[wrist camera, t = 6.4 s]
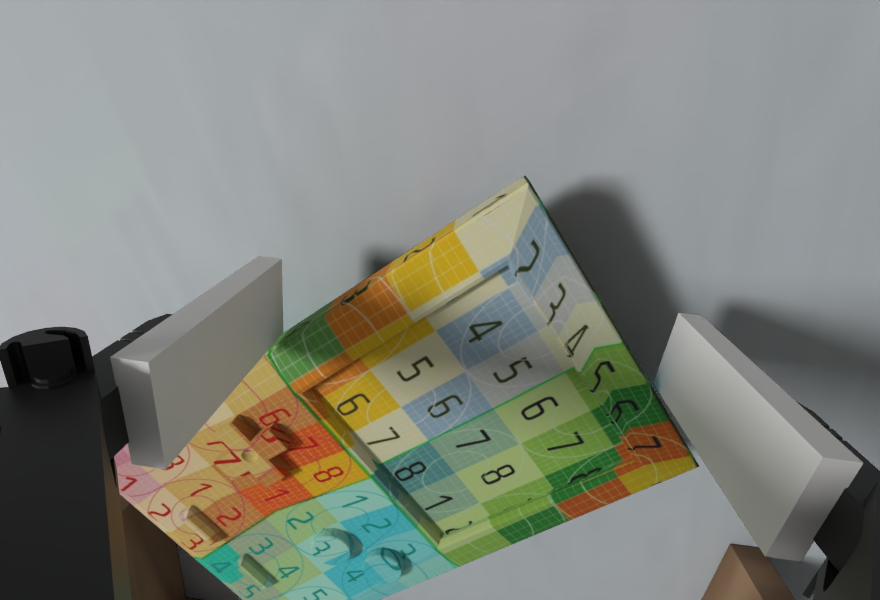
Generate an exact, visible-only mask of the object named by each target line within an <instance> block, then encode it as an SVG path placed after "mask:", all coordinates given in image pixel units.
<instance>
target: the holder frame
mask: <svg viewBox="0 0 880 600" xmlns="http://www.w3.org/2000/svg"><path fill="white" fill-rule="evenodd" d="M120 502H121V510H122V519H123V527H124V536H125V545H126V553H127V562H128V571H129V579H130V588H131V597H132V600H197V599H190V598H186V597H185V592H184V586H183V580H182V575H181V569H180V563H179V558H178V552H177V546H176V542H174V541H173V540H172V539H171V538H170V537H169V536H167V535H166V534H165V533H164V532H163V531H162V530H160V529H159V528H158V527H157V526H156V525H155V524H153V523H152V522H151V521H150V520H149V519H148V518H146V517H145V516H144V515H143V514H142V513H141V512H140V511H138V510H137V509H136V508H135V507H134V506H133V505H131V504H130V503H129V502H128V501H127V500H126V499H124V498H123V497H122V496H121V495H120ZM702 600H795V599H794V597H793V595H792V594H791V592H790V591H789V589H788V588H787V586H786V585H785V583H784V582H783V580H782V579H781V577H780V576H779V574H778V573H777V571H776V570H775V568H774V567H773V565H772V563H771V562H770V560H769V559H768V557H765V556H764V554H763V553H762V551H761V550H760V548H755V547H747V546H740V545H733V544H730V546H729V548H728V549H727V551H726V553H725V555H724V557H723V559H722V561H721V563H720V565H719V567H718V569H717V571H716V573H715V575H714V577H713V579H712V581H711V583H710V585H709V587H708V589H707V591H706V593H705V595H704V596H703V598H702Z"/></svg>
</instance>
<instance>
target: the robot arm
mask: <svg viewBox="0 0 880 600" xmlns="http://www.w3.org/2000/svg"><path fill="white" fill-rule="evenodd" d="M282 333H283V298H282V259H278V258H270V257H263V256H258V257H257V258H255V259H254V260H252V261H251V262H249V263H248V264H246V265H245V266H243V267H242V268H240V269H239V270H237V271H236V272H235V273H233V274H232V275H230V276H229V277H227V278H226V279H224V280H223V281H221V282H220V283H218V284H217V285H215V286H214V287H212V288H211V289H210V290H208V291H207V292H205V293H204V294H202V295H201V296H199V297H198V298H196V299H195V300H193V301H192V302H190V303H189V304H187V305H186V306H185V307H183V308H182V309H180V310H179V311H177V312H176V313H174V314H166V315H163V316H160V317H157V318H154V319H152V320H149V321H147V322H145V323H144V324H142V325H140V326H139V327H137V328H136V329H134V330H133V332H132V333H131V332H130V333H128V334H127V335H125V336H123V337H122V338H121V340H120V341H118V340H117V341H116V342H114V343H113V344H111V345H110V346H108V347H106V348H105V349H103V350H102V351H100V352H99V353H97V354H96V355H94V356H93V357H92V354H91V349H90V345H89V340H88V336H87V334H86V333H85V332H84V331H83V330H80V329H77V328H71V327H52V328H43V329H38V330H33V331H29V332H26V333H23V334H20V335H17V336H14V337H12V338H11V339H9V340H7V341H5V342H4V343H2V344H1V346H0V361H1V364H2V368H3V371H4V374H5V377H6V380H7V384H8V387H4V388H0V600H132V597H131V588H130V579H129V571H128V562H127V553H126V545H125V536H124V527H123V519H122V510H121V502H120V493H119V484H118V476H117V468H116V463H115V459H114V456H115V455H116V454H117V453H118V452H119V451H120V450H121V449H122V448H123V447H124V446H125V445H126V444H128V448H129V453H130V458H131V463H132V465H139V466H146V467H153V468H160V469H167V467H168V466H169V465H170V464H171V463H172V462H173V460H174V459H175V458H176V457H177V456H178V455H179V453H180V452H181V451H182V450H183V449H184V448H185V446H186V445H187V444H188V443H189V442H190V441H191V439H192V438H193V437H194V436H195V435H196V434H197V432H198V431H199V430H200V429H201V428H202V427H203V425H204V424H205V423H206V422H207V421H208V420H209V418H210V417H211V416H212V415H213V414H214V413H215V411H216V410H217V409H218V408H219V407H220V406H221V404H222V403H223V402H224V401H225V400H226V399H227V397H228V396H229V395H230V394H231V393H232V392H233V390H234V389H235V388H236V387H237V386H238V385H239V383H240V382H241V381H242V380H243V379H244V378H245V376H246V375H247V374H248V373H249V372H250V371H251V369H252V368H253V367H254V366H255V365H256V364H257V362H258V361H259V360H260V359H261V358H262V357H263V355H264V354H265V353H266V352H267V351H268V350H269V349H270V347H271V346H272V345H273V344H274V343H275V342H276V340H277V339H278V338H279V337H280V336H281V335H282ZM653 384H654V386H655V388H656V389H657V391H658V392H659V394H660V395H661V397H662V398H663V400H664V401H665V403H666V405H667V406H668V408H669V409H670V411H671V412H672V414H673V415H674V417H675V418H676V420H677V422H678V423H679V425H680V426H681V428H682V429H683V431H684V432H685V434H686V435H687V437H688V439H689V440H690V442H691V443H692V445H693V446H694V448H695V449H696V451H697V452H698V454H699V456H700V457H701V459H702V460H703V462H704V463H705V465H706V466H707V468H708V469H709V471H710V473H711V474H712V476H713V477H714V479H715V480H716V482H717V483H718V485H719V486H720V488H721V489H722V491H723V493H724V494H725V496H726V497H727V499H728V500H729V502H730V503H731V505H732V506H733V508H734V510H735V511H736V513H737V514H738V516H739V517H740V519H741V520H742V522H743V523H744V525H745V527H746V528H747V530H748V531H749V533H750V534H751V536H752V537H753V539H754V540H755V542H756V544H757V545H758V547H759V548H760V550H761V551H762V553H763V554H764V556H765V557H771V558H778V559H785V560H792V561H799V562H801V561H802V559H803V558H804V556H805V554H806V553H807V551H808V550H809V548H810V547H811V545H812V543H813V542H814V541H815V542H816V544H817V545H818V546H819V548H820V549H821V550H822V551H823V553H824V554H825V555H826V556H827V558H826V560H825V561H824V563H823V564H822V566H821V567H820V569H819V570H818V572H817V573H816V575H815V576H814V578H813V579H812V581H811V582H810V584H809V585H808V587H807V588H806V590H805V591H804V593H803V594H802V595H804V596H806V597H807V598H810V596H811V595H812V594H813V593H814V596H813V600H880V471H879V470H878V469H877V468H876V467H875V466H873V465H872V464H871V463H870V462H869V461H868V460H867V459H866V458H864V457H863V456H862V455H861V454H860V453H859V452H858V451H857V450H856V449H854V448H853V447H852V446H851V445H850V444H849V443H848V442H847V441H843V440H842V437H841V436H840V435H839V434H838V433H837V432H835V431H834V430H833V429H830V428H829V425H828V424H826V423H825V422H824V421H823V420H822V419H821V418H820V417H819V416H818V415H816V414H815V413H814V412H813V411H811V410H810V409H808V408H806V407H805V406H803V405H801V404H800V403H798V402H797V401H795V400H794V399H793V398H792V397H791V396H789V395H788V394H787V393H786V392H785V391H784V390H783V389H782V388H781V387H780V386H778V385H777V384H776V383H775V382H774V381H773V380H772V379H771V378H770V377H769V376H768V375H766V374H765V373H764V372H763V371H762V370H761V369H760V368H759V367H758V366H757V365H755V364H754V363H753V362H752V361H751V360H750V359H749V358H748V357H747V356H746V355H744V354H743V353H742V352H741V351H740V350H739V349H738V348H737V347H736V346H735V345H734V344H732V343H731V342H730V341H729V340H728V339H727V338H726V337H725V336H724V335H723V334H721V333H720V332H719V331H718V330H717V329H716V328H715V327H714V326H713V325H712V324H710V323H709V322H708V321H707V320H706V319H705V318H704V317H703V316H699V315H692V314H684V313H678V316H677V318H676V321H675V324H674V327H673V329H672V332H671V335H670V338H669V341H668V343H667V346H666V349H665V352H664V354H663V357H662V360H661V363H660V365H659V368H658V371H657V374H656V376H655V379H654V382H653Z"/></svg>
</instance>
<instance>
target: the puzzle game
mask: <svg viewBox="0 0 880 600" xmlns="http://www.w3.org/2000/svg"><path fill="white" fill-rule="evenodd" d="M114 459H115V463H116V468H117V476H118V484H119V493H120V495H121V496H122V497H123V498H124V499H126V500H127V501H128V502H129V503H130V504H131V505H133V506H134V507H135V508H136V509H137V510H138V511H140V512H141V513H142V514H143V515H144V516H145V517H146V518H148V519H149V520H150V521H151V522H152V523H153V524H155V525H156V526H157V527H158V528H159V529H160V530H162V531H163V532H164V533H165V534H166V535H167V536H169V537H170V538H171V539H172V540H173V541H174V542H176V543H177V544H178V545H179V546H180V547H181V548H183V549H184V550H185V551H186V552H187V553H188V554H190V555H191V556H192V557H193V558H194V559H195V560H196V561H198V562H199V563H200V564H201V565H202V566H203V567H205V568H206V569H207V570H208V571H209V572H210V573H212V574H213V575H214V576H215V577H216V578H217V579H219V580H220V581H221V582H222V583H223V584H224V585H226V586H227V587H228V588H229V589H230V590H231V591H233V592H234V593H235V594H236V595H237V596H238V597H239V598H241V599H242V600H380V599H382V598H385V597H387V596H389V595H392V594H394V593H397V592H399V591H401V590H404V589H406V588H409V587H411V586H413V585H416V584H418V583H421V582H423V581H425V580H428V579H430V578H433V577H435V576H437V575H440V574H442V573H445V572H447V571H449V570H452V569H454V568H457V567H459V566H461V565H464V564H466V563H469V562H471V561H473V560H476V559H478V558H481V557H483V556H485V555H488V554H490V553H493V552H495V551H497V550H500V549H502V548H505V547H507V546H509V545H512V544H514V543H516V542H519V541H521V540H524V539H526V538H528V537H531V536H533V535H536V534H538V533H540V532H543V531H545V530H548V529H550V528H552V527H555V526H557V525H560V524H562V523H564V522H567V521H569V520H572V519H574V518H576V517H579V516H581V515H584V514H586V513H588V512H591V511H593V510H596V509H598V508H600V507H603V506H605V505H608V504H610V503H612V502H615V501H617V500H620V499H622V498H624V497H627V496H629V495H632V494H634V493H636V492H639V491H641V490H644V489H646V488H648V487H651V486H653V485H656V484H658V483H660V482H663V481H665V480H668V479H670V478H672V477H675V476H677V475H680V474H682V473H684V472H687V471H689V470H692V469H694V468H696V467H698V466H699V465H698V463H697V462H696V460H695V458H694V457H693V455H692V453H691V452H690V450H689V448H688V446H687V445H686V443H685V441H684V440H683V438H682V436H681V435H680V433H679V431H678V430H677V428H676V426H675V425H674V423H673V421H672V420H671V418H670V416H669V415H668V413H667V411H666V410H665V408H664V406H663V404H662V403H661V401H660V399H659V398H658V396H657V394H656V393H655V391H654V389H653V388H652V386H651V384H650V383H649V381H648V379H647V378H646V376H645V374H644V373H643V371H642V369H641V368H640V366H639V364H638V362H637V361H636V359H635V357H634V356H633V354H632V352H631V351H630V349H629V347H628V346H627V344H626V342H625V341H624V339H623V337H622V336H621V334H620V332H619V331H618V329H617V327H616V326H615V324H614V322H613V321H612V319H611V317H610V315H609V314H608V312H607V310H606V309H605V307H604V305H603V304H602V302H601V300H600V299H599V297H598V295H597V294H596V292H595V290H594V289H593V287H592V285H591V284H590V282H589V280H588V279H587V277H586V275H585V273H584V272H583V270H582V268H581V267H580V265H579V263H578V262H577V260H576V258H575V257H574V255H573V253H572V252H571V250H570V248H569V247H568V245H567V243H566V242H565V240H564V238H563V237H562V235H561V233H560V231H559V230H558V228H557V226H556V225H555V223H554V221H553V220H552V218H551V216H550V215H549V213H548V211H547V210H546V208H545V206H544V205H543V203H542V201H541V200H540V198H539V196H538V195H537V193H536V191H535V189H534V188H533V186H532V184H531V183H530V181H529V180H528V178H527V177H526V176H524V177H522V178H521V179H519V180H517V181H515V182H514V183H512V184H510V185H509V186H507V187H505V188H504V189H502V190H501V191H499V192H498V193H496V194H495V195H493V196H492V197H490V198H489V199H487V200H486V201H484V202H483V203H481V204H479V205H478V206H476V207H475V208H473V209H472V210H470V211H469V212H467V213H466V214H464V215H463V216H461V217H460V218H458V219H457V220H455V221H454V222H452V223H451V224H449V225H447V226H446V227H444V228H443V229H441V230H440V231H438V232H437V233H435V234H434V235H432V236H431V237H429V238H428V239H426V240H425V241H423V242H422V243H420V244H418V245H417V246H415V247H414V248H412V249H411V250H409V251H408V252H406V253H405V254H403V255H402V256H400V257H399V258H397V259H396V260H394V261H393V262H391V263H389V264H388V265H386V266H385V267H383V268H382V269H380V270H379V271H377V272H376V273H374V274H373V275H371V276H370V277H368V278H367V279H365V280H364V281H362V282H360V283H359V284H357V285H356V286H354V287H353V288H351V289H350V290H348V291H347V292H345V293H344V294H342V295H341V296H339V297H338V298H336V299H335V300H333V301H332V302H330V303H328V304H327V305H325V306H324V307H322V308H321V309H319V310H318V311H316V312H315V313H313V314H312V315H310V316H309V317H307V318H306V319H304V320H303V321H301V322H299V323H298V324H296V325H295V326H293V327H292V328H290V329H289V330H287V331H286V332H284V333H283V334H282V335H281V336H280V337H279V338H278V339H277V340H276V342H275V343H274V344H273V345H272V346H271V347H270V349H269V350H268V351H267V352H266V353H265V354H264V355H263V357H262V358H261V359H260V360H259V361H258V362H257V364H256V365H255V366H254V367H253V368H252V369H251V371H250V372H249V373H248V374H247V375H246V376H245V378H244V379H243V380H242V381H241V382H240V383H239V385H238V386H237V387H236V388H235V389H234V390H233V392H232V393H231V394H230V395H229V396H228V397H227V399H226V400H225V401H224V402H223V403H222V404H221V406H220V407H219V408H218V409H217V410H216V411H215V413H214V414H213V415H212V416H211V417H210V418H209V420H208V421H207V422H206V423H205V424H204V425H203V427H202V428H201V429H200V430H199V431H198V432H197V434H196V435H195V436H194V437H193V438H192V439H191V441H190V442H189V443H188V444H187V445H186V446H185V448H184V449H183V450H182V451H181V452H180V453H179V455H178V456H177V457H176V458H175V459H174V460H173V462H172V463H171V464H170V465H169V466H168V467H167V469H160V468H153V467H146V466H139V465H132V463H131V458H130V453H129V448H128V444H126V445H125V446H124V447H123V448H122V449H121V450H120V451H119V452H118V453H117V454H116V455H115V456H114Z"/></svg>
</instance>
